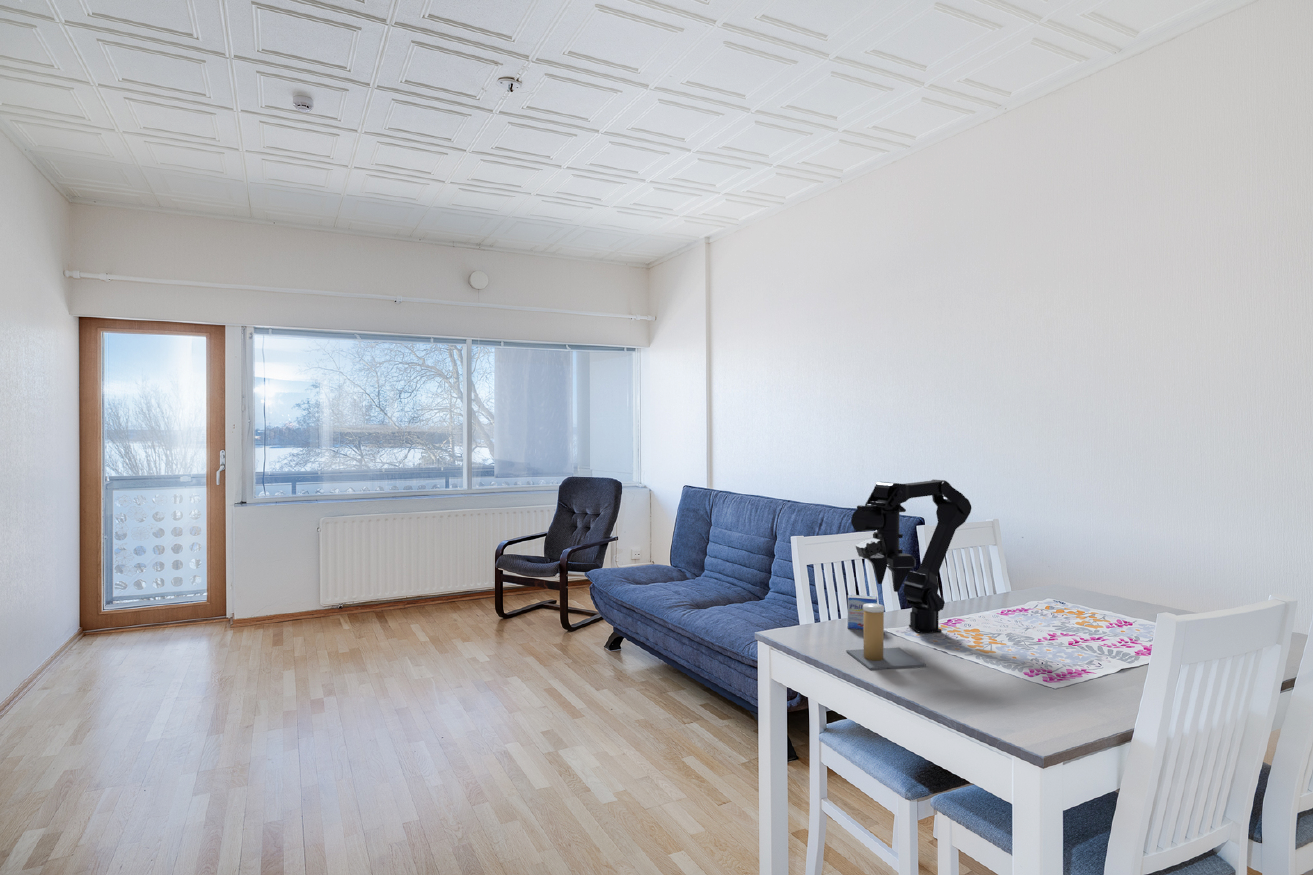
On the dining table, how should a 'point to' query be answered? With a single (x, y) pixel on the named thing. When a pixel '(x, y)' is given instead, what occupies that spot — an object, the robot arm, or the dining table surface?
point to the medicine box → (858, 610)
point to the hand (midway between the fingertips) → (887, 587)
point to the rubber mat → (888, 659)
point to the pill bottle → (873, 631)
